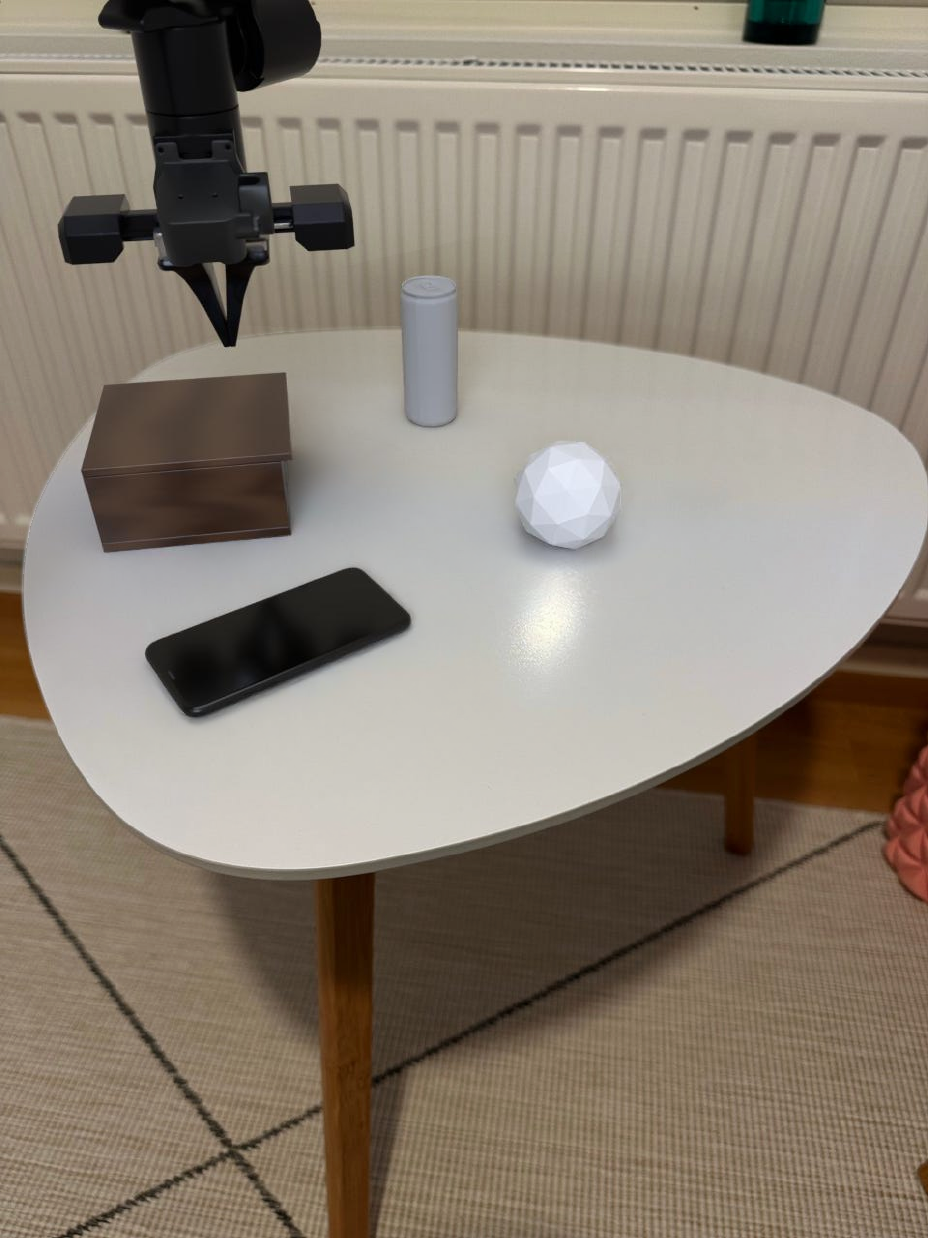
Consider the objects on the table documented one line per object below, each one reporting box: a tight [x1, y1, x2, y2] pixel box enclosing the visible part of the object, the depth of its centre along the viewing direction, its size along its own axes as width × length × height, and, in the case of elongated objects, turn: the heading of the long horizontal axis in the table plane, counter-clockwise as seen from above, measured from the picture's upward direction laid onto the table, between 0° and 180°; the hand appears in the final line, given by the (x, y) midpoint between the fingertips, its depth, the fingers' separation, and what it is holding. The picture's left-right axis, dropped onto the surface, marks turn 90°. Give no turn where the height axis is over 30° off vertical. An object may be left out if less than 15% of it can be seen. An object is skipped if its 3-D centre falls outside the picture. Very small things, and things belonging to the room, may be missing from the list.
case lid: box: [80, 371, 293, 478], centre depth 74 cm, size 14×14×1 cm
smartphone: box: [144, 566, 412, 719], centre depth 63 cm, size 8×1×16 cm
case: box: [82, 460, 292, 553], centre depth 76 cm, size 14×14×6 cm
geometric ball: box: [514, 439, 622, 550], centre depth 71 cm, size 8×8×8 cm
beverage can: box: [399, 274, 459, 428], centre depth 85 cm, size 5×5×12 cm
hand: (230, 345), depth 71 cm, fingers closed
